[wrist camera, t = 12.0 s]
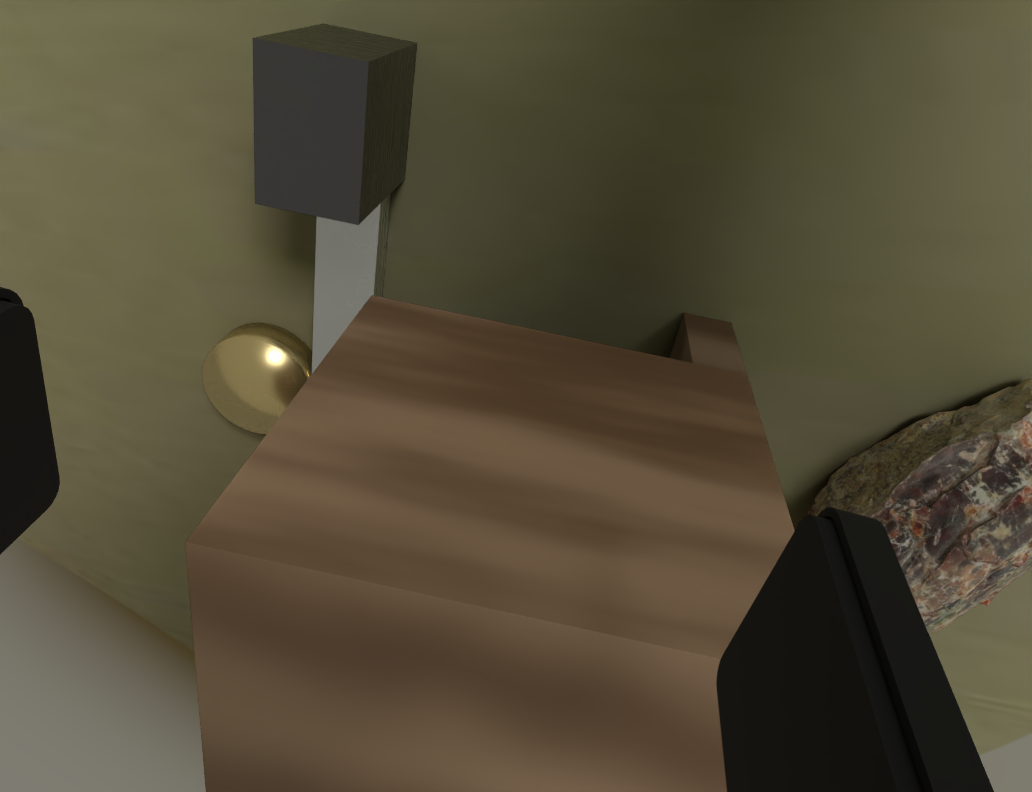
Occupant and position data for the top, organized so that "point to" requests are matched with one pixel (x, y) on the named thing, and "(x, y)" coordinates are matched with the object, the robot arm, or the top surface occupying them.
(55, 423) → the top surface
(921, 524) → the rock
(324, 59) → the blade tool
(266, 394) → the token
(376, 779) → the cabinet
